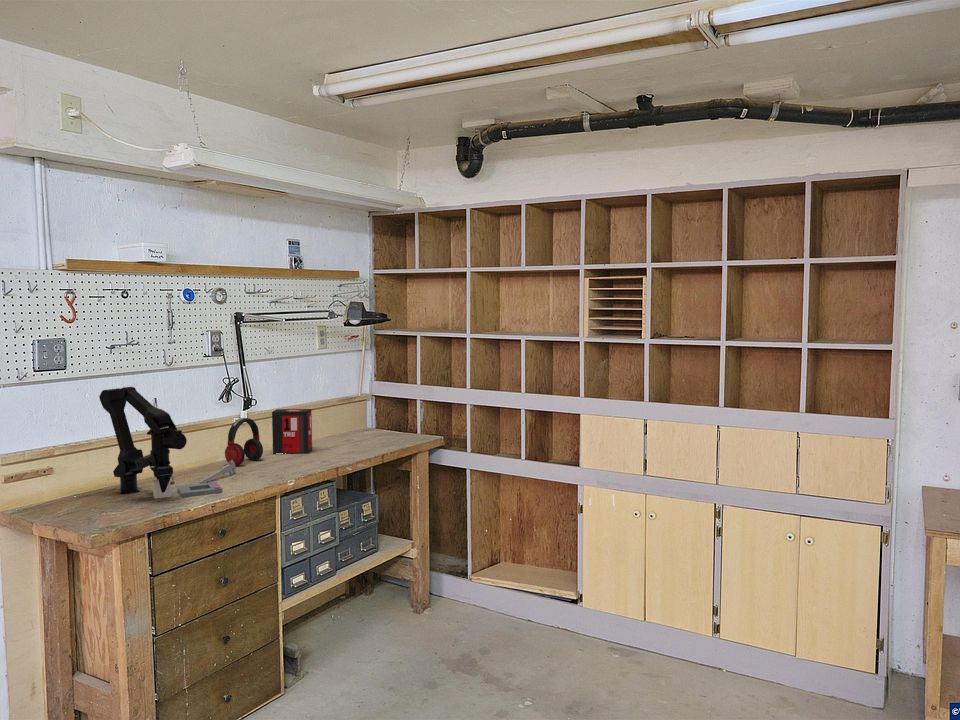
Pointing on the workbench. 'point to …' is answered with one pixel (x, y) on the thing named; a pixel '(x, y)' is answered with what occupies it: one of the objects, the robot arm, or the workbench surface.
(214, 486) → the socket
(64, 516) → the workbench surface
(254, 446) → the headphones
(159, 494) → the plug
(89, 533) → the workbench surface
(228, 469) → the caliper
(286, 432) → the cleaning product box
